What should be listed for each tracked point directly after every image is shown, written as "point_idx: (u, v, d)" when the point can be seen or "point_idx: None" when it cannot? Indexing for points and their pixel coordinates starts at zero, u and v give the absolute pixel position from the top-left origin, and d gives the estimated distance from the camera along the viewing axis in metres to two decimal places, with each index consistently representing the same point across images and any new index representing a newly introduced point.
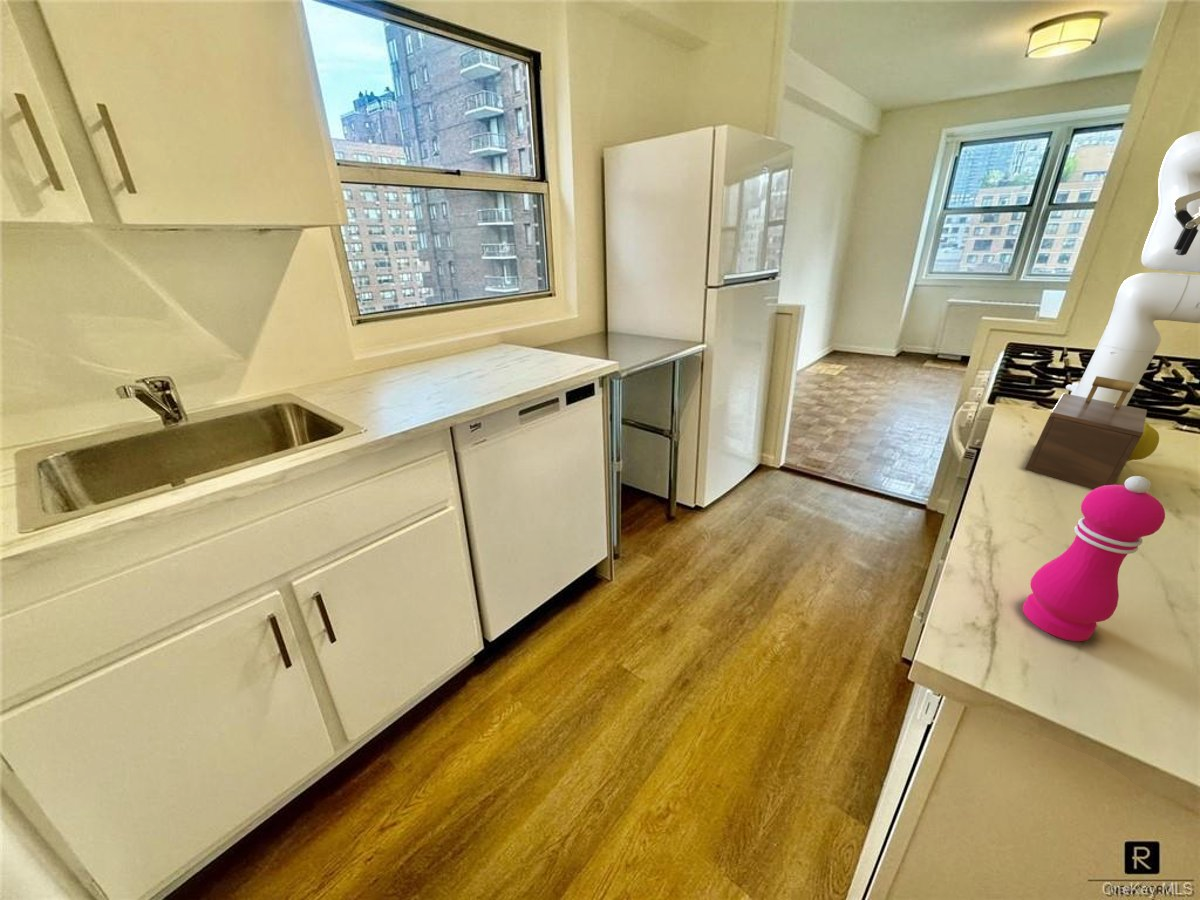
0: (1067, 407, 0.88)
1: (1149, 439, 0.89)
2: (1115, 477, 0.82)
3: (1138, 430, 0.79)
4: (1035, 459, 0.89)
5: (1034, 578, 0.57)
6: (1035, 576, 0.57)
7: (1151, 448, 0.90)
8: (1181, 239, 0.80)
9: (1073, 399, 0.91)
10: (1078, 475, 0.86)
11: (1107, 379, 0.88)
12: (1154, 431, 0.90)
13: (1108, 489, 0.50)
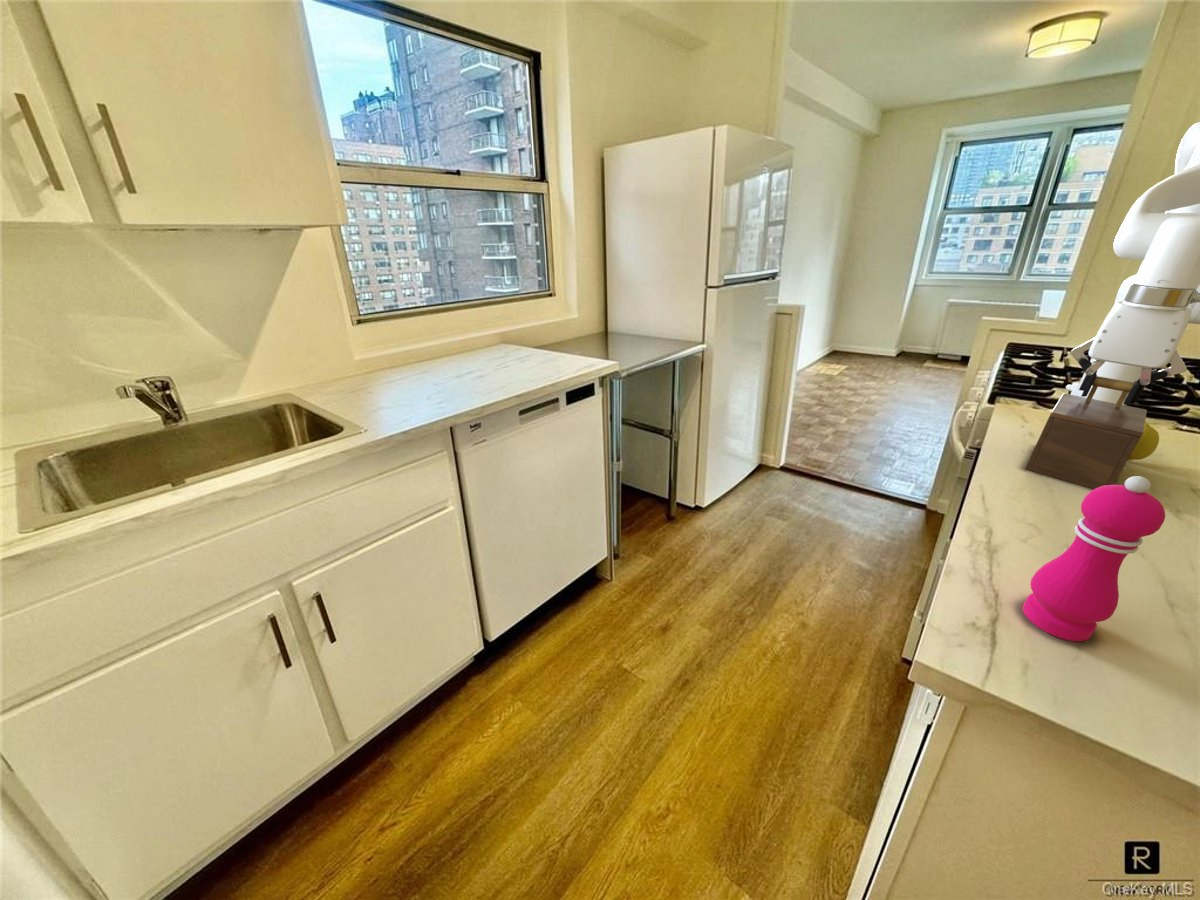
0: (1067, 407, 0.88)
1: (1149, 439, 0.89)
2: (1115, 477, 0.82)
3: (1138, 430, 0.79)
4: (1035, 459, 0.89)
5: (1034, 578, 0.57)
6: (1035, 576, 0.57)
7: (1151, 448, 0.90)
8: (1083, 382, 0.90)
9: (1073, 399, 0.91)
10: (1078, 475, 0.86)
11: (1107, 379, 0.88)
12: (1154, 431, 0.90)
13: (1108, 489, 0.50)
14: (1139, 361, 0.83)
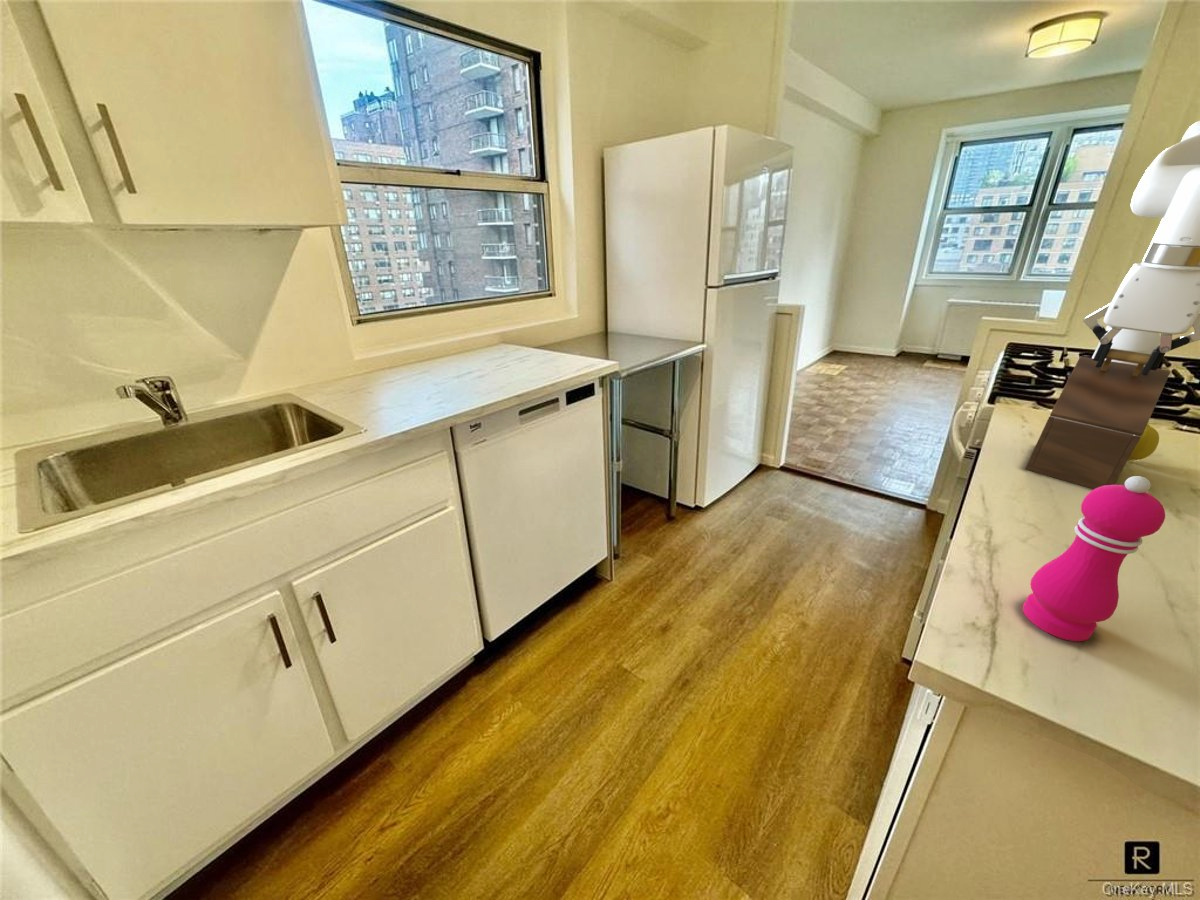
0: (1073, 393, 0.86)
1: (1149, 439, 0.89)
2: (1115, 477, 0.82)
3: (1139, 429, 0.79)
4: (1035, 459, 0.89)
5: (1034, 578, 0.57)
6: (1035, 576, 0.57)
7: (1151, 448, 0.90)
8: (1097, 352, 0.84)
9: (1087, 371, 0.87)
10: (1078, 475, 0.86)
11: (1121, 354, 0.82)
12: (1154, 431, 0.90)
13: (1108, 489, 0.50)
14: (1159, 327, 0.77)
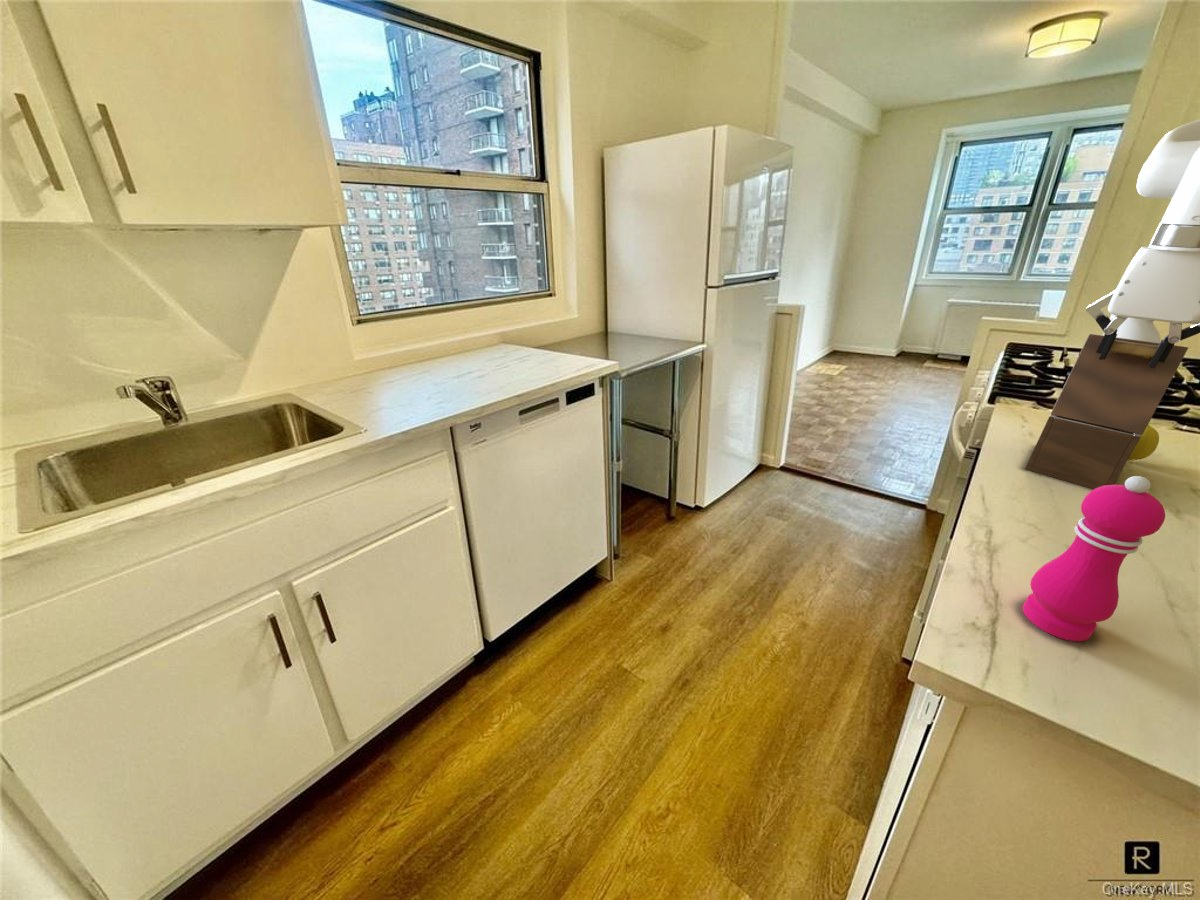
0: (1076, 387, 0.84)
1: (1149, 439, 0.89)
2: (1115, 477, 0.82)
3: (1139, 430, 0.78)
4: (1035, 459, 0.89)
5: (1034, 578, 0.57)
6: (1035, 576, 0.57)
7: (1151, 448, 0.90)
8: (1101, 343, 0.78)
9: (1094, 354, 0.82)
10: (1078, 475, 0.86)
11: (1124, 349, 0.77)
12: (1154, 431, 0.90)
13: (1108, 489, 0.50)
14: (1168, 315, 0.71)
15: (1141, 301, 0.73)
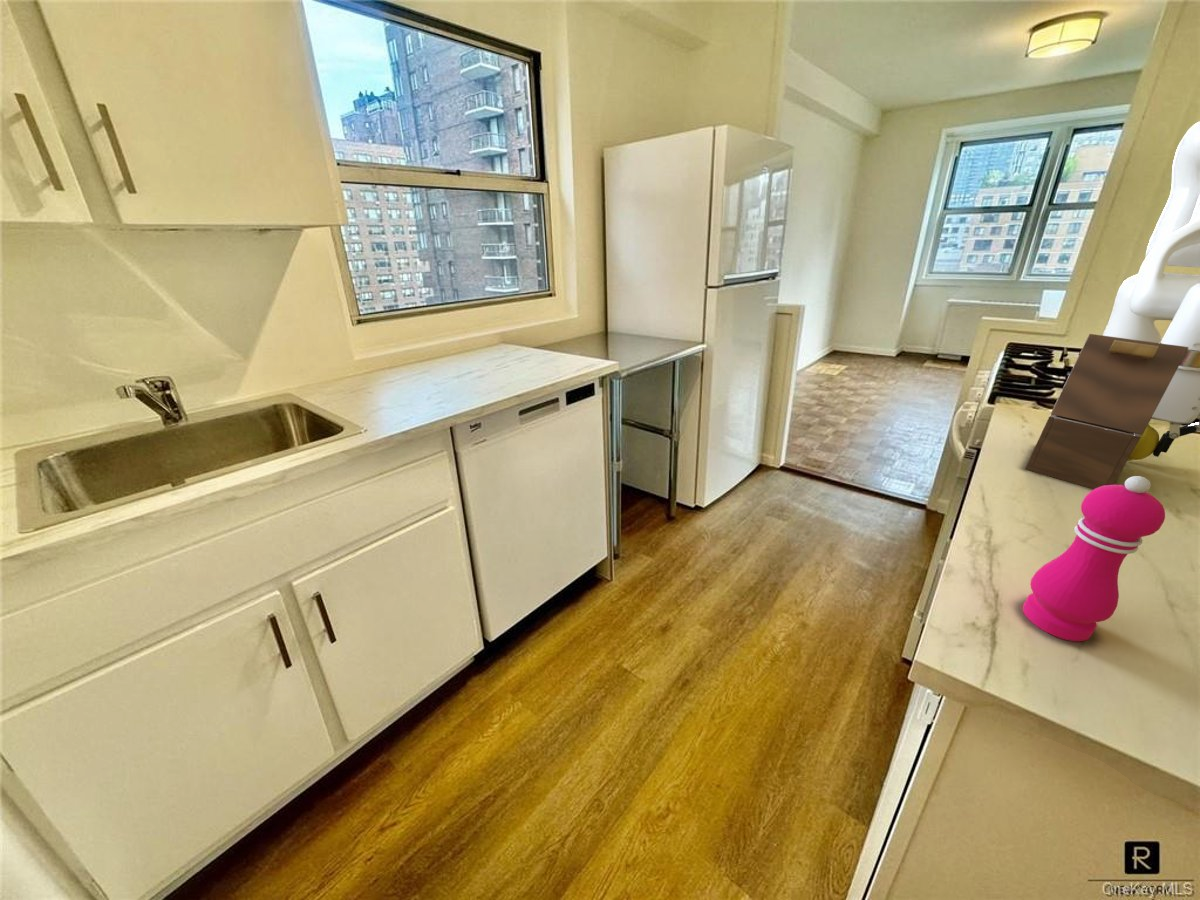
0: (1076, 387, 0.84)
1: (1149, 439, 0.89)
2: (1115, 477, 0.82)
3: (1139, 430, 0.78)
4: (1035, 459, 0.89)
5: (1034, 578, 0.57)
6: (1035, 576, 0.57)
7: (1151, 448, 0.90)
8: None
9: (1095, 354, 0.82)
10: (1078, 475, 0.86)
11: (1124, 349, 0.77)
12: (1154, 431, 0.90)
13: (1108, 489, 0.50)
14: (1167, 416, 0.87)
15: None
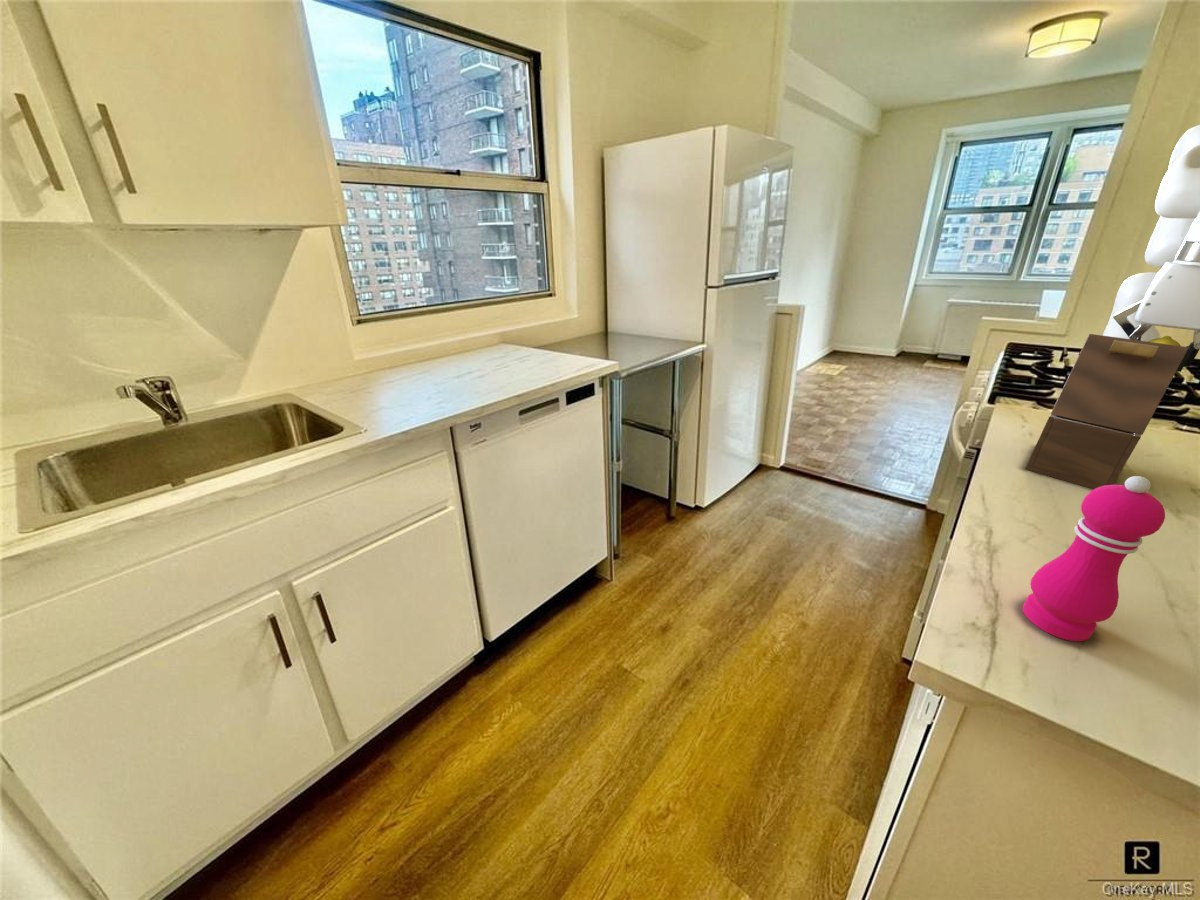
0: (1076, 387, 0.84)
1: None
2: (1115, 477, 0.82)
3: (1139, 430, 0.78)
4: (1035, 459, 0.89)
5: (1034, 578, 0.57)
6: (1035, 576, 0.57)
7: None
8: None
9: (1095, 354, 0.82)
10: (1078, 475, 0.86)
11: (1124, 349, 0.77)
12: (1177, 343, 0.81)
13: (1108, 489, 0.50)
14: (1191, 324, 0.79)
15: (1167, 311, 0.80)
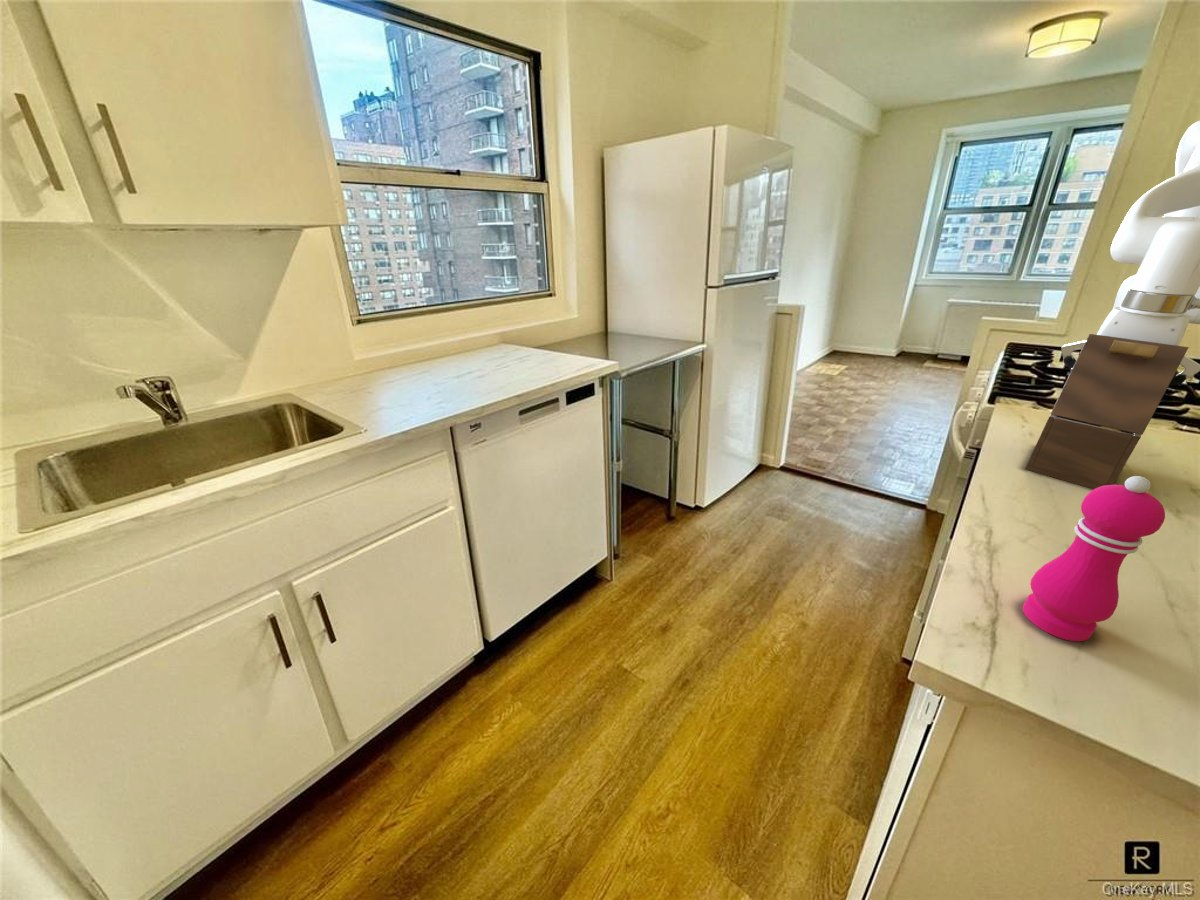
0: (1076, 387, 0.84)
1: None
2: (1115, 477, 0.82)
3: (1139, 430, 0.78)
4: (1035, 459, 0.89)
5: (1034, 578, 0.57)
6: (1035, 576, 0.57)
7: None
8: None
9: (1095, 354, 0.82)
10: (1078, 475, 0.86)
11: (1124, 349, 0.77)
12: None
13: (1108, 489, 0.50)
14: None
15: None
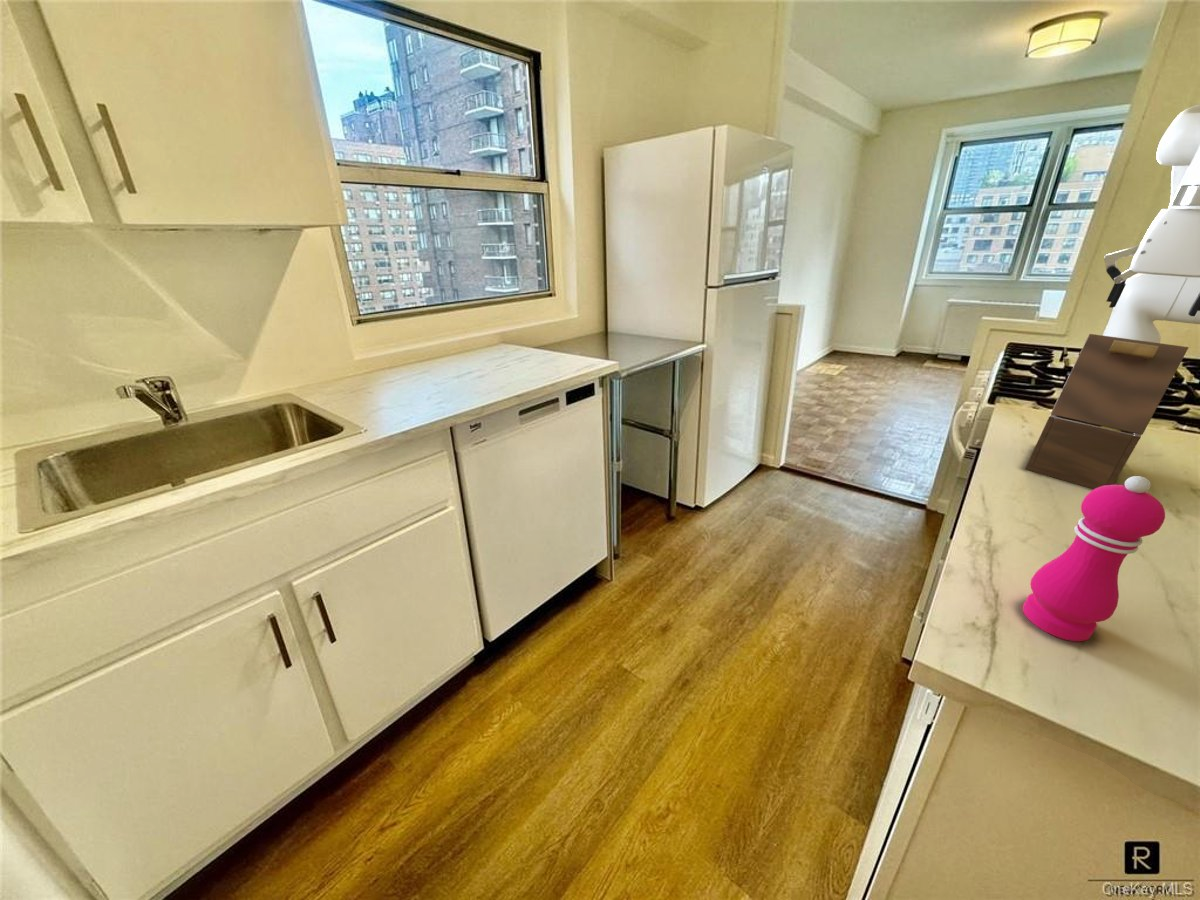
0: (1076, 387, 0.84)
1: None
2: (1115, 477, 0.82)
3: (1139, 430, 0.78)
4: (1035, 459, 0.89)
5: (1034, 578, 0.57)
6: (1035, 576, 0.57)
7: None
8: (1111, 292, 0.85)
9: (1095, 354, 0.82)
10: (1078, 475, 0.86)
11: (1124, 349, 0.77)
12: None
13: (1108, 489, 0.50)
14: (1187, 270, 0.78)
15: (1162, 258, 0.79)
